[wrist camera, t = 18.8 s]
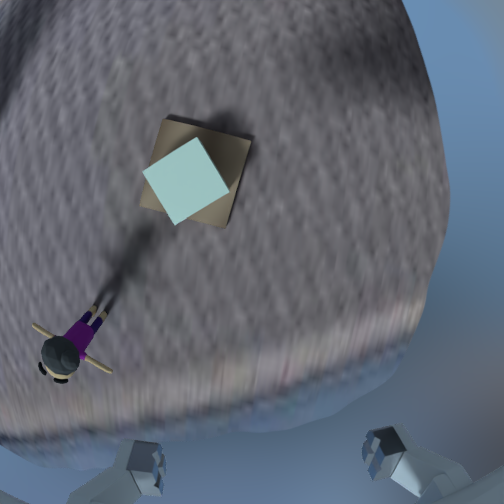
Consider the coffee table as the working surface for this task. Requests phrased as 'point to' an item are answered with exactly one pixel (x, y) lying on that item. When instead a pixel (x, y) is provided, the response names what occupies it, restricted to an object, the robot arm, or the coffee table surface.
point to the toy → (70, 347)
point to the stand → (222, 154)
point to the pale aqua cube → (186, 180)
